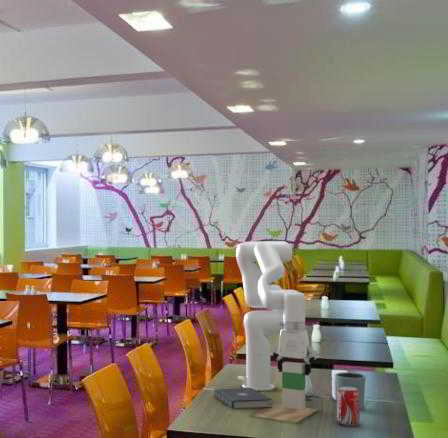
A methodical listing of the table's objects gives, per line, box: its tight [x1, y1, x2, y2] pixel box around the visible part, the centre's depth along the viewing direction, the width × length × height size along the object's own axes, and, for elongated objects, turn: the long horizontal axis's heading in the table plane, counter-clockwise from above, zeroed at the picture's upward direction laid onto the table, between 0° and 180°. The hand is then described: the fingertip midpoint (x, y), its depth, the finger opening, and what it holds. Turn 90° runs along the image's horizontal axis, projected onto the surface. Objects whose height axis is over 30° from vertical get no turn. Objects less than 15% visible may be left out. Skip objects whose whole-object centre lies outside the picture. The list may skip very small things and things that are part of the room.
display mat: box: [251, 403, 318, 423], centre depth 274 cm, size 16×22×1 cm
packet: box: [281, 361, 306, 410], centre depth 281 cm, size 7×16×4 cm
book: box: [213, 387, 273, 410], centre depth 291 cm, size 22×15×3 cm
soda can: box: [336, 386, 360, 427], centre depth 260 cm, size 7×7×12 cm
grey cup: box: [336, 371, 367, 411], centre depth 282 cm, size 10×10×12 cm
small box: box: [331, 369, 349, 401], centre depth 296 cm, size 8×6×10 cm
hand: (294, 373), depth 282 cm, fingers open, 9 cm apart
